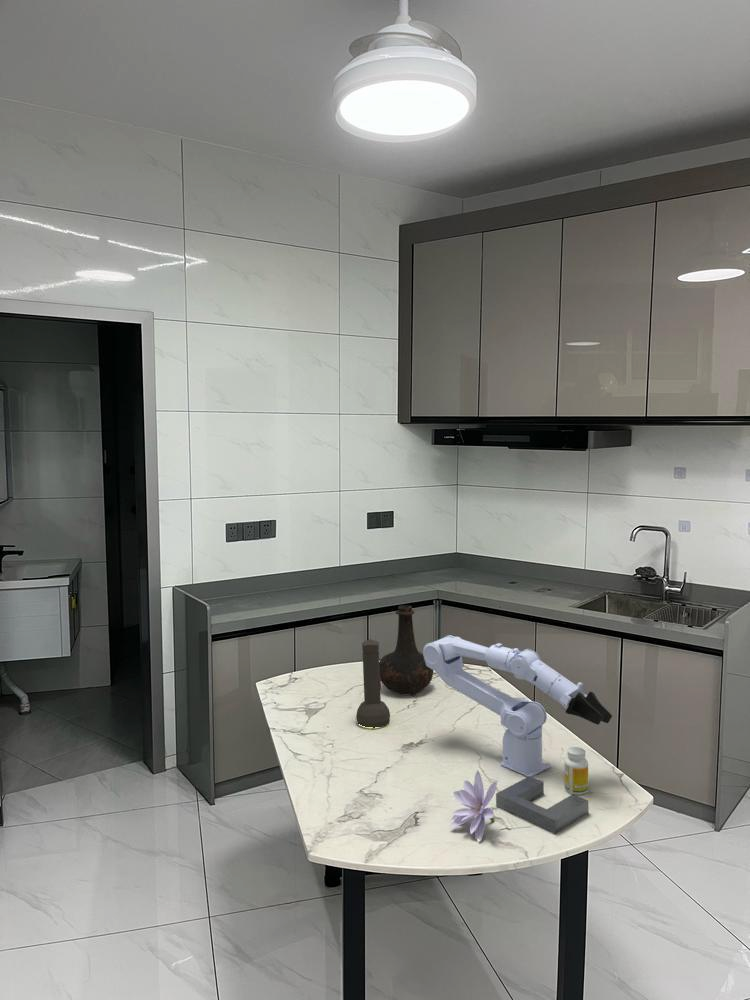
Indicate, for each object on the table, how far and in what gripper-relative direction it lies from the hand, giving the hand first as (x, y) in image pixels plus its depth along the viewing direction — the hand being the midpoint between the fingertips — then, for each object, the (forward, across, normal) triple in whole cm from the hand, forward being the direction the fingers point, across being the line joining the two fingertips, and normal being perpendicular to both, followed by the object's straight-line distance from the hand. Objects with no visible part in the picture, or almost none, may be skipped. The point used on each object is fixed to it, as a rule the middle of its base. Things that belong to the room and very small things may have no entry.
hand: (605, 720), depth 172 cm
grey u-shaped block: (0, -9, +23) cm, 25 cm away
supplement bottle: (+2, +3, +18) cm, 19 cm away
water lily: (-7, -22, +32) cm, 39 cm away
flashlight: (-57, +13, +43) cm, 72 cm away
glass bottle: (-65, +40, +37) cm, 85 cm away
